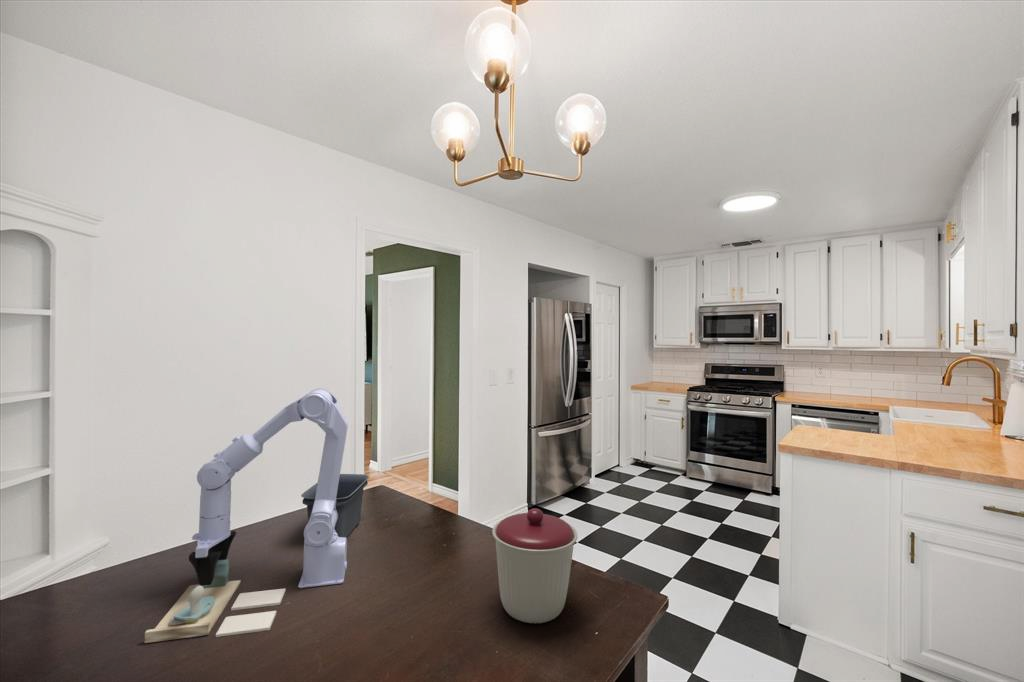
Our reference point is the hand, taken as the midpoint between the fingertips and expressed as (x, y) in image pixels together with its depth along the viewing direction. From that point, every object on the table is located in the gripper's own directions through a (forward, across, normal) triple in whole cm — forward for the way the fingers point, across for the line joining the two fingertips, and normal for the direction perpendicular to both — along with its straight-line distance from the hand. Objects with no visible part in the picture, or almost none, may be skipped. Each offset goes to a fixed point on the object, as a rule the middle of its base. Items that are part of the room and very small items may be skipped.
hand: (212, 575), depth 97 cm
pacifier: (+3, +11, 0) cm, 12 cm away
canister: (+3, +23, +67) cm, 71 cm away
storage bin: (+3, -25, +22) cm, 34 cm away
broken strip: (+3, +11, +11) cm, 16 cm away
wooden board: (+3, +8, 0) cm, 8 cm away
